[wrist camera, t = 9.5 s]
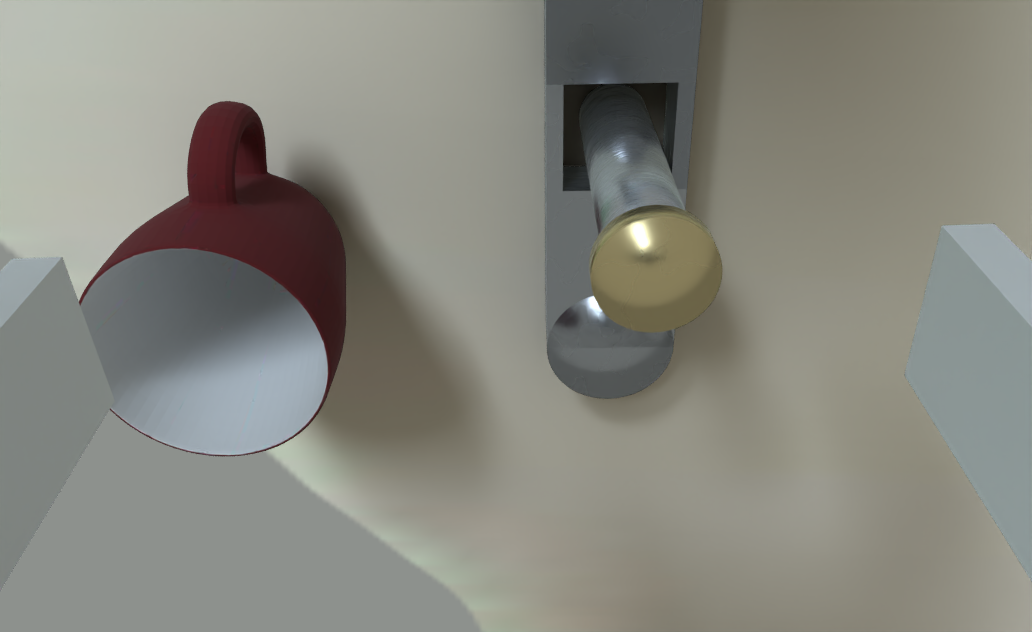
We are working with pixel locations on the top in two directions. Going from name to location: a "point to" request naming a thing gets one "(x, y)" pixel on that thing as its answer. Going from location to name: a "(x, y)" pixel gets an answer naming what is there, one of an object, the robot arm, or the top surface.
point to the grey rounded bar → (568, 201)
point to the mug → (223, 302)
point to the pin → (641, 221)
